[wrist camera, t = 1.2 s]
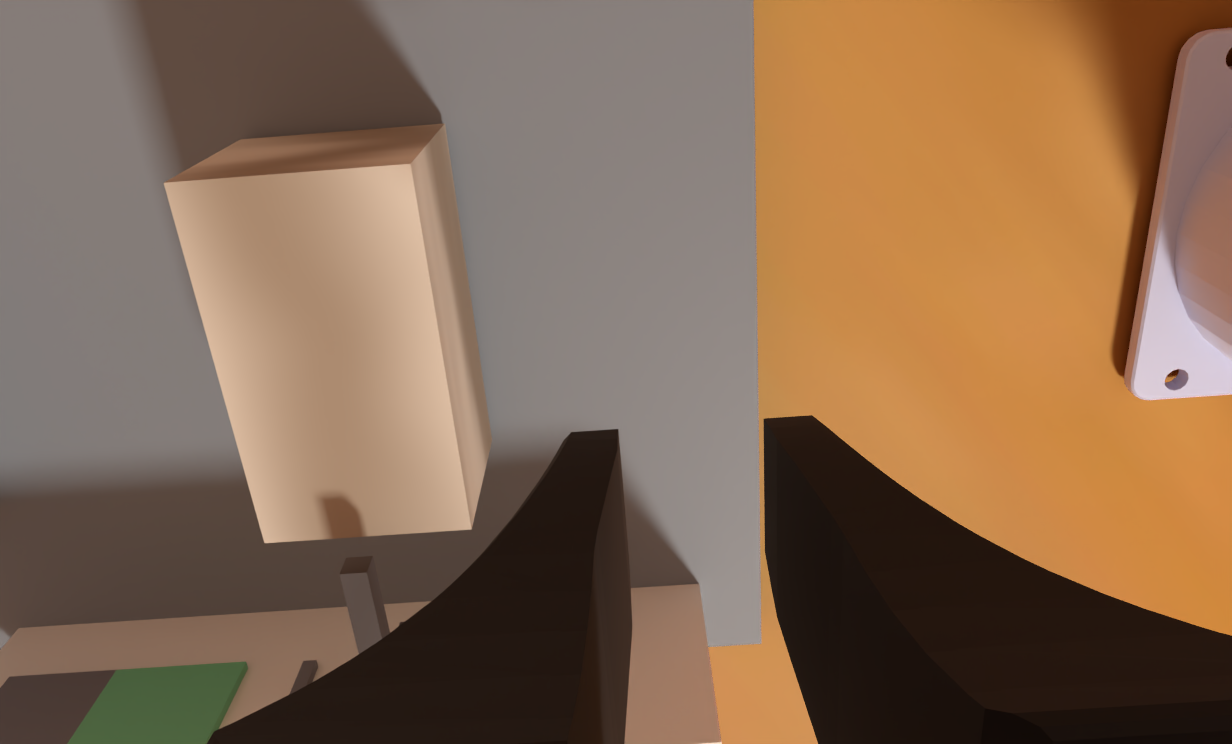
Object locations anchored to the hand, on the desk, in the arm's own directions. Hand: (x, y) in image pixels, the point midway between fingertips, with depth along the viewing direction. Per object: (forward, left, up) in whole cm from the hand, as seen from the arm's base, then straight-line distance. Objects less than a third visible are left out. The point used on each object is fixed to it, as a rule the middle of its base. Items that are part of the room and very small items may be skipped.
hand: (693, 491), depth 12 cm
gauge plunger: (+6, +2, -8) cm, 10 cm away
